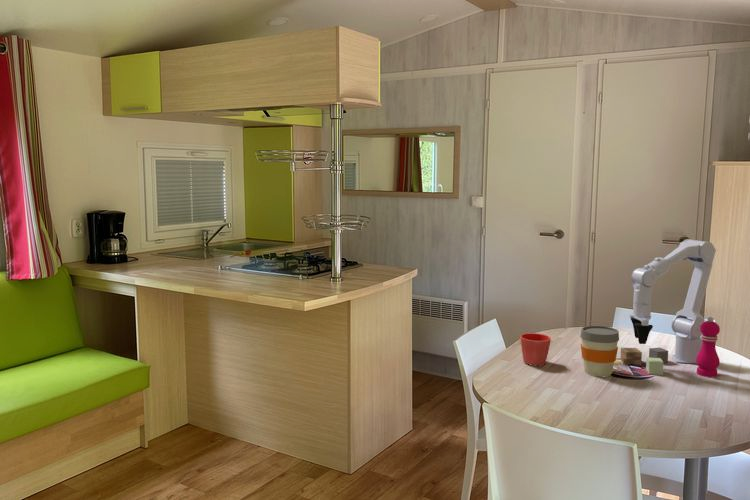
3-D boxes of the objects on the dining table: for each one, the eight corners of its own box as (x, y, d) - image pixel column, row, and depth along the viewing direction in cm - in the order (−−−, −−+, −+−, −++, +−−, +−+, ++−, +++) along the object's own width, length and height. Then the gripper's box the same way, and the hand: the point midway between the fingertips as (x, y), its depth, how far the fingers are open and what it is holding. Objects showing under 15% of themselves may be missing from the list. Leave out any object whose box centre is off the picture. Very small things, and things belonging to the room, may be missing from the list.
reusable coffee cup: (575, 375, 217) (577, 332, 215) (582, 364, 228) (584, 323, 226) (614, 380, 211) (616, 336, 209) (619, 369, 222) (621, 328, 220)
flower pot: (547, 358, 236) (547, 333, 234) (552, 367, 225) (553, 341, 224) (518, 357, 237) (518, 332, 235) (521, 367, 226) (522, 340, 225)
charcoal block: (659, 359, 234) (660, 347, 234) (667, 362, 230) (668, 350, 229) (648, 360, 233) (649, 348, 233) (656, 363, 229) (657, 351, 228)
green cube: (659, 370, 222) (660, 358, 221) (662, 374, 217) (663, 362, 217) (645, 369, 222) (646, 357, 222) (648, 374, 218) (649, 361, 217)
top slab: (635, 354, 233) (636, 347, 233) (641, 359, 228) (641, 352, 227) (620, 354, 233) (620, 347, 233) (626, 359, 228) (626, 352, 227)
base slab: (637, 361, 233) (638, 354, 233) (641, 366, 227) (641, 359, 227) (620, 360, 234) (620, 353, 234) (623, 365, 228) (623, 358, 228)
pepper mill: (721, 378, 213) (725, 319, 210) (698, 376, 215) (702, 319, 212) (714, 371, 220) (718, 314, 217) (692, 370, 222) (695, 314, 219)
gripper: (626, 298, 230) (625, 334, 232) (633, 307, 216) (631, 345, 218) (647, 298, 228) (645, 335, 230) (655, 307, 214) (653, 347, 216)
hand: (640, 340), depth 224 cm, fingers open, 7 cm apart
